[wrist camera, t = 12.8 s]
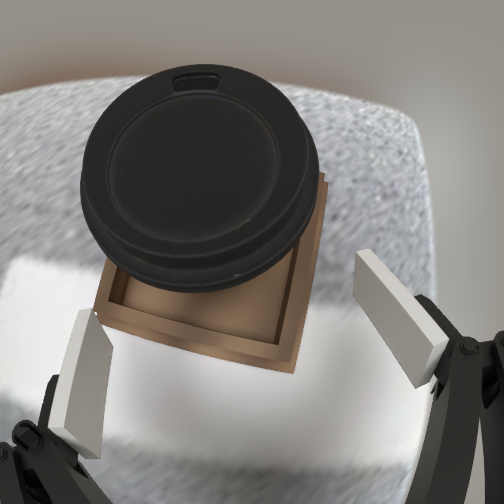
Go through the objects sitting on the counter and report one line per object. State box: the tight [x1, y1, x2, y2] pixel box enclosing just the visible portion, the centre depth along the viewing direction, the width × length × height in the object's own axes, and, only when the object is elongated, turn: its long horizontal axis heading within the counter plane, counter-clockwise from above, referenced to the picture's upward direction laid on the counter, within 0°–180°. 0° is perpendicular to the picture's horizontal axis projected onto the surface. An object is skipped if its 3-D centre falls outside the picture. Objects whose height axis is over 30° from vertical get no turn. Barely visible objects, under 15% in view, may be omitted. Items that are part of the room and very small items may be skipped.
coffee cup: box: [80, 64, 319, 293], centre depth 17 cm, size 9×9×15 cm
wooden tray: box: [93, 172, 328, 374], centre depth 24 cm, size 16×16×4 cm
